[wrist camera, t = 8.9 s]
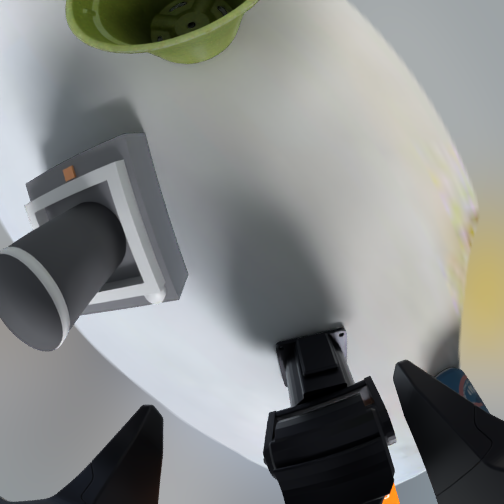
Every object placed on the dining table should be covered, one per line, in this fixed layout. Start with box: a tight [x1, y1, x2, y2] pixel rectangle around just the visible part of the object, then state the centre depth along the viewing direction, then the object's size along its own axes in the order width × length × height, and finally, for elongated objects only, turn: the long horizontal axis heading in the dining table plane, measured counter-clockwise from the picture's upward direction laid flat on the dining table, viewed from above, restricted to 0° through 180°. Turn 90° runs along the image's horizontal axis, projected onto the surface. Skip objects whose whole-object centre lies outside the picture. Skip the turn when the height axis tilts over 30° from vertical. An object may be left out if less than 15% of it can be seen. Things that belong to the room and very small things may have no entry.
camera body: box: [24, 133, 188, 315], centre depth 17 cm, size 11×9×5 cm
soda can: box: [434, 367, 490, 414], centre depth 24 cm, size 7×7×12 cm
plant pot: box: [66, 0, 259, 64], centre depth 9 cm, size 9×9×9 cm
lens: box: [0, 202, 126, 351], centre depth 12 cm, size 5×5×8 cm
